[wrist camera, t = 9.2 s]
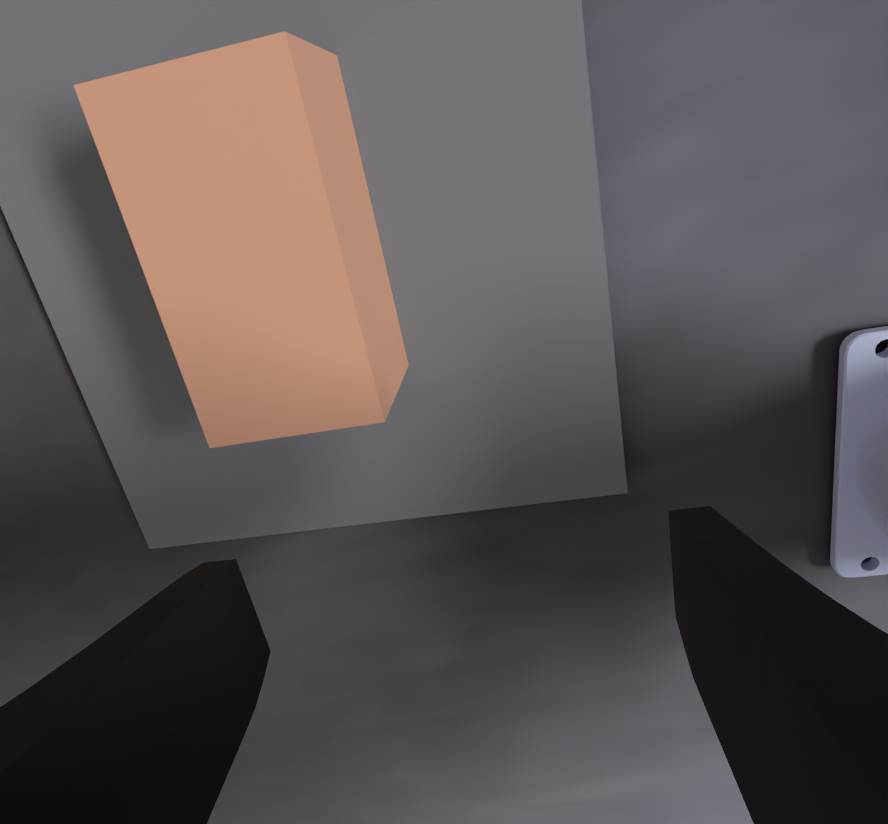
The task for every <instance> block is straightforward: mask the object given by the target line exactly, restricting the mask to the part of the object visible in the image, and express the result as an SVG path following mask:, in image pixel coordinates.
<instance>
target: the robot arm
mask: <svg viewBox="0 0 888 824" xmlns="http://www.w3.org/2000/svg"><path fill="white" fill-rule="evenodd" d="M885 339H888V326H884V327H877V328H871V329H864V330H859V331H856V332H852V333H851V334H850V335H848V336H847V337H846V338H845V339H844V340H843V342H842V343H841V346H840V350H839V370H838V393H837V415H836V437H835V460H834V482H833V504H832V527H831V549H830V563H831V566H832V567H833V569H834V570H835V571H836V572H837V573H838V574H839V575H840V576H842V577H846V578H854V577H865V576H876V575H886V574H888V346H887V348H886V349H885V350H884V351H883V352H880V353H876V352H875V349H876V346H877V345H878V344H879V343H880V342H881V341H883V340H885ZM669 524H670V539H671V554H672V569H673V584H674V598H675V613H676V619H677V622H678V626H679V630H680V633H681V637H682V640H683V644H684V648H685V651H686V655H687V658H688V661H689V665H690V668H691V672H692V675H693V678H694V680H695V683H696V685H697V688H698V690H699V693H700V695H701V698H702V700H703V702H704V705H705V707H706V710H707V712H708V715H709V717H710V719H711V722H712V724H713V727H714V729H715V732H716V734H717V736H718V739H719V741H720V744H721V746H722V748H723V751H724V753H725V756H726V758H727V760H728V763H729V765H730V768H731V770H732V772H733V775H734V777H735V780H736V782H737V784H738V787H739V789H740V792H741V794H742V796H743V799H744V801H745V804H746V806H747V808H748V811H749V813H750V816H751V818H752V820H753V823H754V824H888V634H887V633H885V632H883V631H882V630H880V629H878V628H877V627H875V626H874V625H872V624H870V623H869V622H867V621H866V620H864V619H863V618H861V617H860V616H858V615H856V614H855V613H853V612H852V611H850V610H849V609H847V608H846V607H844V606H843V605H841V604H839V603H838V602H836V601H835V600H833V599H832V598H830V597H829V596H827V595H826V594H825V593H823V592H822V591H820V590H819V589H817V588H816V587H814V586H813V585H812V584H810V583H809V582H808V581H806V580H805V579H803V578H802V577H801V576H799V575H798V574H797V573H795V572H794V571H792V570H791V569H790V568H788V567H787V566H786V565H784V564H783V563H782V562H780V561H779V560H778V559H776V558H775V557H774V556H772V555H771V554H770V553H769V552H767V551H766V550H765V549H763V548H762V547H761V546H760V545H758V544H757V543H756V542H754V541H753V540H752V539H751V538H749V537H748V536H747V535H746V534H744V533H743V532H742V531H741V530H739V529H738V528H737V527H736V526H734V525H733V524H732V523H731V522H729V521H728V520H727V519H726V518H724V517H723V516H722V515H721V514H719V513H718V512H717V511H715V510H714V509H713V508H711V507H710V506H707V507H698V508H689V509H680V510H671V511H669ZM868 557H872V558H871V560H869V561H868V562H865V563H862V561H863V560H864V559H865V558H868ZM269 655H270V649H269V646H268V643H267V641H266V638H265V635H264V633H263V630H262V627H261V625H260V622H259V619H258V617H257V614H256V611H255V609H254V606H253V603H252V601H251V598H250V596H249V593H248V590H247V588H246V585H245V582H244V580H243V577H242V574H241V572H240V569H239V566H238V564H237V561H236V559H234V560H225V561H216V562H207V563H202V564H201V565H199V566H197V567H196V568H194V569H193V570H191V571H189V572H188V573H186V574H185V575H183V576H182V577H181V578H179V579H178V580H176V581H175V582H174V583H172V584H171V585H169V586H168V587H167V588H165V589H164V590H163V591H161V592H160V593H159V594H157V595H156V596H154V597H153V598H152V599H150V600H149V601H148V602H147V603H145V604H144V605H143V606H141V607H140V608H139V609H137V610H136V611H135V612H133V613H132V614H131V615H129V616H128V617H127V618H125V619H124V620H123V621H121V622H120V623H119V624H117V625H116V626H115V627H113V628H112V629H111V630H109V631H108V632H107V633H105V634H104V635H103V636H101V637H100V638H99V639H97V640H96V641H95V642H93V643H92V644H91V645H89V646H88V647H86V648H85V649H84V650H82V651H81V652H79V653H78V654H76V655H75V656H74V657H72V658H71V659H69V660H68V661H67V662H65V663H64V664H62V665H61V666H60V667H58V668H57V669H55V670H54V671H53V672H51V673H50V674H48V675H47V676H45V677H44V678H43V679H41V680H40V681H38V682H37V683H36V684H34V685H33V686H31V687H30V688H29V689H27V690H26V691H24V692H23V693H21V694H20V695H18V696H17V697H15V698H14V699H12V700H11V701H9V702H8V703H6V704H4V705H3V706H1V707H0V824H207V822H208V819H209V817H210V815H211V812H212V810H213V808H214V805H215V803H216V800H217V798H218V796H219V793H220V791H221V789H222V786H223V784H224V782H225V779H226V777H227V775H228V772H229V770H230V768H231V765H232V763H233V761H234V758H235V756H236V754H237V751H238V749H239V746H240V744H241V742H242V739H243V737H244V734H245V732H246V730H247V727H248V725H249V722H250V720H251V717H252V715H253V712H254V710H255V707H256V703H257V700H258V697H259V693H260V690H261V686H262V683H263V679H264V675H265V671H266V667H267V663H268V659H269Z"/></svg>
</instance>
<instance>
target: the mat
mask: <svg viewBox="0 0 888 824" xmlns="http://www.w3.org/2000/svg"><path fill="white" fill-rule="evenodd" d="M284 31H286V32H288V33H290V34H292V35H294V36H296V37H299V38H301V39H303V40H305V41H307V42H309V43H311V44H314V45H316V46H318V47H320V48H322V49H324V50H327V51H329V52H331V53H333V54H335V55H337V57H338V62H339V66H340V70H341V75H342V79H343V83H344V88H345V92H346V96H347V101H348V105H349V109H350V114H351V118H352V122H353V127H354V131H355V135H356V139H357V144H358V148H359V152H360V157H361V161H362V165H363V170H364V174H365V178H366V183H367V187H368V191H369V196H370V200H371V204H372V209H373V213H374V217H375V222H376V226H377V230H378V235H379V239H380V243H381V248H382V252H383V256H384V260H385V265H386V269H387V273H388V278H389V282H390V286H391V291H392V295H393V299H394V304H395V308H396V312H397V317H398V321H399V325H400V330H401V334H402V338H403V343H404V347H405V351H406V356H407V360H408V364H409V366H408V368H407V370H406V373H405V375H404V378H403V380H402V382H401V385H400V387H399V389H398V392H397V394H396V397H395V399H394V401H393V404H392V406H391V408H390V411H389V413H388V416H387V418H386V420H385V422H382V423H376V424H369V425H362V426H356V427H349V428H342V429H335V430H329V431H322V432H315V433H309V434H302V435H295V436H288V437H282V438H275V439H268V440H262V441H255V442H248V443H241V444H235V445H228V446H221V447H215V448H209V446H208V443H207V440H206V438H205V435H204V432H203V429H202V427H201V424H200V421H199V419H198V416H197V413H196V411H195V408H194V405H193V403H192V400H191V397H190V395H189V392H188V389H187V387H186V384H185V381H184V379H183V376H182V373H181V371H180V368H179V365H178V363H177V360H176V357H175V355H174V352H173V349H172V347H171V344H170V341H169V339H168V336H167V333H166V331H165V328H164V325H163V323H162V320H161V317H160V315H159V312H158V309H157V307H156V304H155V301H154V299H153V296H152V293H151V291H150V288H149V285H148V283H147V280H146V277H145V275H144V272H143V269H142V267H141V264H140V261H139V259H138V256H137V253H136V251H135V248H134V245H133V243H132V240H131V237H130V235H129V232H128V229H127V227H126V224H125V221H124V219H123V216H122V213H121V211H120V208H119V205H118V203H117V200H116V197H115V195H114V192H113V189H112V187H111V184H110V181H109V179H108V176H107V173H106V171H105V168H104V165H103V163H102V160H101V157H100V155H99V152H98V149H97V147H96V144H95V141H94V139H93V136H92V133H91V131H90V128H89V125H88V123H87V120H86V117H85V115H84V112H83V109H82V107H81V104H80V101H79V99H78V96H77V93H76V91H75V88H74V85H76V84H80V83H84V82H88V81H91V80H95V79H99V78H103V77H107V76H111V75H115V74H119V73H123V72H127V71H131V70H135V69H139V68H142V67H146V66H150V65H154V64H158V63H162V62H166V61H170V60H174V59H178V58H182V57H186V56H190V55H193V54H197V53H201V52H205V51H209V50H213V49H217V48H221V47H225V46H229V45H233V44H237V43H241V42H244V41H248V40H252V39H256V38H260V37H264V36H268V35H272V34H276V33H280V32H284ZM0 207H1V209H2V211H3V214H4V216H5V218H6V220H7V223H8V225H9V227H10V230H11V232H12V234H13V237H14V239H15V241H16V243H17V246H18V248H19V250H20V253H21V255H22V257H23V260H24V262H25V264H26V266H27V269H28V271H29V273H30V276H31V278H32V280H33V283H34V285H35V287H36V289H37V292H38V294H39V296H40V299H41V301H42V303H43V305H44V308H45V310H46V312H47V315H48V317H49V319H50V322H51V324H52V326H53V328H54V331H55V333H56V335H57V338H58V340H59V342H60V345H61V347H62V349H63V351H64V354H65V356H66V358H67V361H68V363H69V365H70V368H71V370H72V372H73V374H74V377H75V379H76V381H77V384H78V386H79V388H80V391H81V393H82V395H83V397H84V400H85V402H86V404H87V407H88V409H89V411H90V413H91V416H92V418H93V420H94V423H95V425H96V427H97V430H98V432H99V434H100V436H101V439H102V441H103V443H104V446H105V448H106V450H107V453H108V455H109V457H110V459H111V462H112V464H113V466H114V469H115V471H116V473H117V476H118V478H119V480H120V482H121V485H122V487H123V489H124V492H125V494H126V496H127V498H128V501H129V503H130V505H131V508H132V510H133V512H134V515H135V517H136V519H137V521H138V524H139V526H140V528H141V531H142V533H143V535H144V538H145V540H146V542H147V544H148V547H149V549H156V548H164V547H173V546H182V545H190V544H199V543H207V542H216V541H224V540H233V539H241V538H250V537H258V536H267V535H275V534H284V533H293V532H301V531H310V530H318V529H327V528H335V527H344V526H352V525H361V524H369V523H378V522H386V521H395V520H404V519H412V518H421V517H429V516H438V515H446V514H455V513H463V512H472V511H480V510H489V509H497V508H506V507H515V506H523V505H532V504H540V503H549V502H557V501H566V500H574V499H583V498H591V497H600V496H608V495H617V494H626V493H628V489H627V479H626V468H625V458H624V447H623V436H622V426H621V415H620V405H619V394H618V383H617V373H616V362H615V352H614V341H613V330H612V320H611V309H610V299H609V288H608V278H607V267H606V256H605V246H604V235H603V225H602V214H601V203H600V193H599V182H598V172H597V161H596V150H595V140H594V129H593V119H592V108H591V97H590V87H589V76H588V66H587V55H586V44H585V34H584V23H583V13H582V2H581V0H0Z"/></svg>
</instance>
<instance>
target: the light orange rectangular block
mask: <svg viewBox="0 0 888 824" xmlns="http://www.w3.org/2000/svg"><path fill="white" fill-rule="evenodd" d="M74 88H75V91H76V93H77V96H78V99H79V101H80V104H81V107H82V109H83V112H84V115H85V117H86V120H87V123H88V125H89V128H90V131H91V133H92V136H93V139H94V141H95V144H96V147H97V149H98V152H99V155H100V157H101V160H102V163H103V165H104V168H105V171H106V173H107V176H108V179H109V181H110V184H111V187H112V189H113V192H114V195H115V197H116V200H117V203H118V205H119V208H120V211H121V213H122V216H123V219H124V221H125V224H126V227H127V229H128V232H129V235H130V237H131V240H132V243H133V245H134V248H135V251H136V253H137V256H138V259H139V261H140V264H141V267H142V269H143V272H144V275H145V277H146V280H147V283H148V285H149V288H150V291H151V293H152V296H153V299H154V301H155V304H156V307H157V309H158V312H159V315H160V317H161V320H162V323H163V325H164V328H165V331H166V333H167V336H168V339H169V341H170V344H171V347H172V349H173V352H174V355H175V357H176V360H177V363H178V365H179V368H180V371H181V373H182V376H183V379H184V381H185V384H186V387H187V389H188V392H189V395H190V397H191V400H192V403H193V405H194V408H195V411H196V413H197V416H198V419H199V421H200V424H201V427H202V429H203V432H204V435H205V438H206V440H207V443H208V446H209V448H215V447H221V446H228V445H235V444H241V443H248V442H255V441H262V440H268V439H275V438H282V437H288V436H295V435H302V434H309V433H315V432H322V431H329V430H335V429H342V428H349V427H356V426H362V425H369V424H376V423H382V422H385V420H386V418H387V416H388V413H389V411H390V408H391V406H392V404H393V401H394V399H395V397H396V394H397V392H398V389H399V387H400V385H401V382H402V380H403V378H404V375H405V373H406V370H407V368H408V366H409V364H408V360H407V356H406V351H405V347H404V343H403V338H402V334H401V330H400V325H399V321H398V317H397V312H396V308H395V304H394V299H393V295H392V291H391V286H390V282H389V278H388V273H387V269H386V265H385V260H384V256H383V252H382V248H381V243H380V239H379V235H378V230H377V226H376V222H375V217H374V213H373V209H372V204H371V200H370V196H369V191H368V187H367V183H366V178H365V174H364V170H363V165H362V161H361V157H360V152H359V148H358V144H357V139H356V135H355V131H354V127H353V122H352V118H351V114H350V109H349V105H348V101H347V96H346V92H345V88H344V83H343V79H342V75H341V70H340V66H339V62H338V57H337V55H335V54H333V53H331V52H329V51H327V50H324V49H322V48H320V47H318V46H316V45H314V44H311V43H309V42H307V41H305V40H303V39H301V38H299V37H296V36H294V35H292V34H290V33H288V32H286V31H284V32H280V33H276V34H272V35H268V36H264V37H260V38H256V39H252V40H248V41H244V42H241V43H237V44H233V45H229V46H225V47H221V48H217V49H213V50H209V51H205V52H201V53H197V54H193V55H190V56H186V57H182V58H178V59H174V60H170V61H166V62H162V63H158V64H154V65H150V66H146V67H142V68H139V69H135V70H131V71H127V72H123V73H119V74H115V75H111V76H107V77H103V78H99V79H95V80H91V81H88V82H84V83H80V84H76V85H74Z"/></svg>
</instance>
